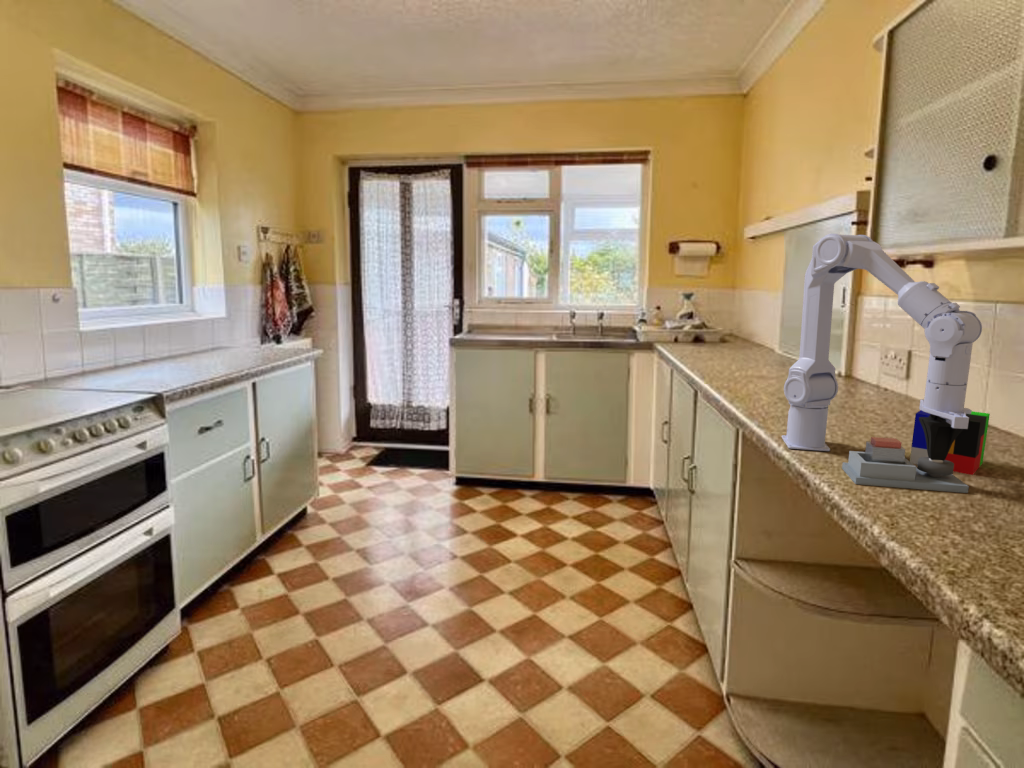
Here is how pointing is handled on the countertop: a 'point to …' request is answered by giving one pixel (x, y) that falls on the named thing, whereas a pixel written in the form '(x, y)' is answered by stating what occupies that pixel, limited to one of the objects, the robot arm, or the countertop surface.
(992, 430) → the countertop surface
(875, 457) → the red and grey block
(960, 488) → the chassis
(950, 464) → the wheel
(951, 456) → the puzzle toy
